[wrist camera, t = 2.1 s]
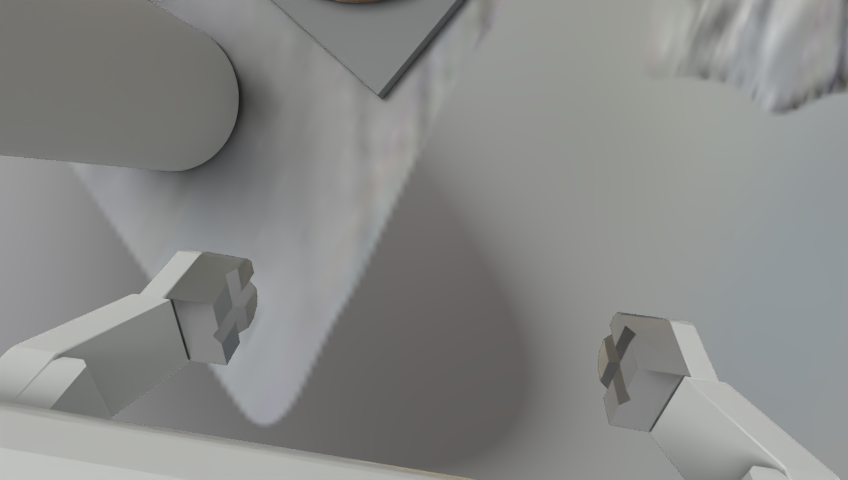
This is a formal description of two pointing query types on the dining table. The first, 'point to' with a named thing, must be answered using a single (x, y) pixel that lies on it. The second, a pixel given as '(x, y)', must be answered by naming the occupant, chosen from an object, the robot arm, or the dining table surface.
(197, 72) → the cylinder vase
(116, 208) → the dining table surface
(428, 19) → the dial base
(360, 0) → the dial
